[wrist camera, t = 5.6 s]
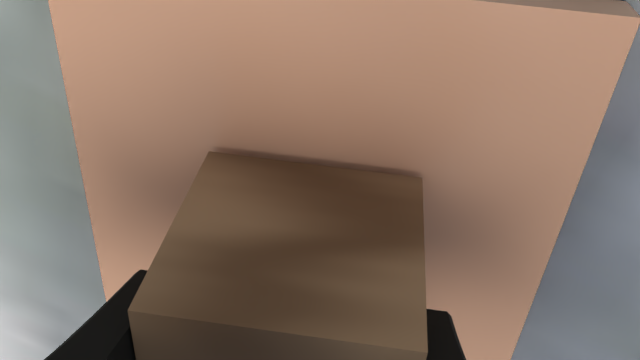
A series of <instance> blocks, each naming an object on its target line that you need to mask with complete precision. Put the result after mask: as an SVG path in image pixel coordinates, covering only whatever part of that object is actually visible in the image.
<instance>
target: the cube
mask: <svg viewBox="0 0 640 360" xmlns="http://www.w3.org/2000/svg"><path fill="white" fill-rule="evenodd" d="M127 311H128V316H129V322H130V328H131V334H132V339H133V345H134V351H135V357H136V360H426V358H427V354H428V344H427V311H426V278H425V245H424V213H423V180H422V178H421V177H413V176H405V175H397V174H389V173H381V172H373V171H364V170H356V169H348V168H340V167H332V166H324V165H316V164H308V163H300V162H292V161H284V160H276V159H267V158H259V157H251V156H243V155H235V154H227V153H219V152H211V151H209V152H208V154H207V156H206V158H205V160H204V162H203V164H202V165H201V167H200V169H199V171H198V173H197V175H196V177H195V179H194V181H193V183H192V185H191V187H190V189H189V191H188V193H187V195H186V197H185V199H184V201H183V203H182V205H181V207H180V209H179V211H178V212H177V214H176V216H175V218H174V220H173V222H172V224H171V226H170V228H169V230H168V232H167V234H166V236H165V238H164V240H163V242H162V244H161V246H160V248H159V250H158V252H157V254H156V256H155V258H154V260H153V261H152V263H151V265H150V267H149V269H148V271H147V273H146V275H145V277H144V279H143V281H142V283H141V285H140V287H139V289H138V291H137V293H136V295H135V297H134V299H133V301H132V303H131V305H130V307H129V308H128V310H127Z"/></svg>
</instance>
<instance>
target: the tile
mask: <svg viewBox="0 0 640 360" xmlns="http://www.w3.org/2000/svg"><path fill="white" fill-rule="evenodd" d="M48 2H49V7H50V12H51V18H52V23H53V28H54V33H55V38H56V43H57V49H58V54H59V59H60V64H61V69H62V75H63V80H64V85H65V90H66V95H67V100H68V106H69V111H70V116H71V121H72V126H73V131H74V137H75V142H76V147H77V152H78V157H79V163H80V168H81V173H82V178H83V183H84V188H85V194H86V199H87V204H88V209H89V214H90V219H91V225H92V230H93V235H94V240H95V245H96V251H97V256H98V261H99V266H100V271H101V276H102V282H103V287H104V292H105V297H106V302H107V301H108V300H109V299H110V298H111V297H112V296H113V295H114V294H115V293H116V292H117V291H118V290H119V289H120V288H121V287H122V286H123V285H124V284H125V283H126V282H127V281H128V280H129V279H130V278H131V277H132V276H133V275H134V274H135V273H136V272H137V271H139V270H140V269H141V270H148V269H149V267H150V265H151V263H152V261H153V260H154V258H155V256H156V254H157V252H158V250H159V248H160V246H161V244H162V242H163V240H164V238H165V236H166V234H167V232H168V230H169V228H170V226H171V224H172V222H173V220H174V218H175V216H176V214H177V212H178V211H179V209H180V207H181V205H182V203H183V201H184V199H185V197H186V195H187V193H188V191H189V189H190V187H191V185H192V183H193V181H194V179H195V177H196V175H197V173H198V171H199V169H200V167H201V165H202V164H203V162H204V160H205V158H206V156H207V154H208V152H209V151H211V152H219V153H227V154H235V155H243V156H251V157H259V158H267V159H276V160H284V161H292V162H300V163H308V164H316V165H324V166H332V167H340V168H348V169H356V170H364V171H373V172H381V173H389V174H397V175H405V176H413V177H421V178H422V180H423V213H424V245H425V278H426V309H433V310H440V311H447V312H448V313H449V314H450V315H451V316H452V320H453V323H454V327H455V330H456V333H457V336H458V339H459V341H460V344H461V347H462V350H463V352H464V355H465V358H466V360H511V357H512V354H513V352H514V349H515V347H516V344H517V341H518V339H519V336H520V334H521V331H522V328H523V326H524V323H525V321H526V318H527V315H528V313H529V310H530V308H531V305H532V302H533V300H534V297H535V295H536V292H537V289H538V287H539V284H540V282H541V279H542V276H543V274H544V271H545V269H546V266H547V263H548V261H549V258H550V256H551V253H552V250H553V248H554V245H555V243H556V240H557V237H558V235H559V232H560V230H561V227H562V224H563V222H564V219H565V217H566V214H567V211H568V209H569V206H570V204H571V201H572V198H573V196H574V193H575V191H576V188H577V185H578V183H579V180H580V178H581V175H582V172H583V170H584V167H585V165H586V162H587V159H588V157H589V154H590V152H591V149H592V146H593V144H594V141H595V139H596V136H597V133H598V131H599V128H600V125H601V123H602V120H603V118H604V115H605V112H606V110H607V107H608V105H609V102H610V99H611V97H612V94H613V92H614V89H615V86H616V84H617V81H618V79H619V76H620V73H621V71H622V68H623V66H624V63H625V60H626V58H627V55H628V53H629V50H630V47H631V45H632V42H633V40H634V37H635V34H636V32H637V29H638V27H639V24H640V16H639V14H638V13H637V12H636V11H635V10H634V9H633V8H632V7H631V6H630V5H629V4H628V2H627V1H619V0H48Z"/></svg>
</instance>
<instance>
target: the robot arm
mask: <svg viewBox="0 0 640 360" xmlns="http://www.w3.org/2000/svg"><path fill="white" fill-rule="evenodd" d="M147 271H148V270H141V269H140V270H139V271H137V272H136V273H135V274H134V275H133V276H132V277H131V278H130V279H129V280H128V281H127V282H126V283H125V284H124V285H123V286H122V287H121V288H120V289H119V290H118V291H117V292H116V293H115V294H114V295H113V296H112V297H111V298H110V299H109V300H108V301H107V302H106V303H105V304H104V305H103V306H102V307H101V308H100V309H99V310H98V311H97V312H96V313H95V314H94V315H93V316H92V317H91V318H90V319H89V320H87V321H86V322H85V323H84V324H83V325H82V326H81V327H80V328H79V329H78V330H77V331H76V332H75V333H73V334H72V335H71V336H70V337H69V338H68V339H67V340H66V341H65V342H64V343H63V344H62V345H60V346H59V347H58V348H57V349H56V350H55V351H54V352H53V353H51V354H50V355H49V356H48V357H47V358H45V359H44V360H136V357H135V351H134V345H133V339H132V334H131V328H130V322H129V316H128V311H127V310H128V308H129V307H130V305H131V303H132V301H133V299H134V297H135V295H136V293H137V291H138V289H139V287H140V285H141V283H142V281H143V279H144V277H145V275H146V273H147ZM426 311H427V344H428V354H427V358H426V360H466V358H465V355H464V352H463V350H462V347H461V344H460V341H459V339H458V336H457V333H456V330H455V327H454V323H453V320H452V316H451V315H450V314H449V313H448V312H447V311H440V310H433V309H426Z"/></svg>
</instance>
